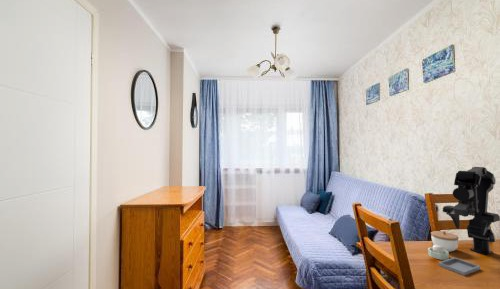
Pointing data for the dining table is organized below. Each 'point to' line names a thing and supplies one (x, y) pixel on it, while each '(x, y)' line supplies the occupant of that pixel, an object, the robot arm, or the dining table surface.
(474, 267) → the parts tray
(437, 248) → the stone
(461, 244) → the dining table surface
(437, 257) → the bowl
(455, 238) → the lidded jar
